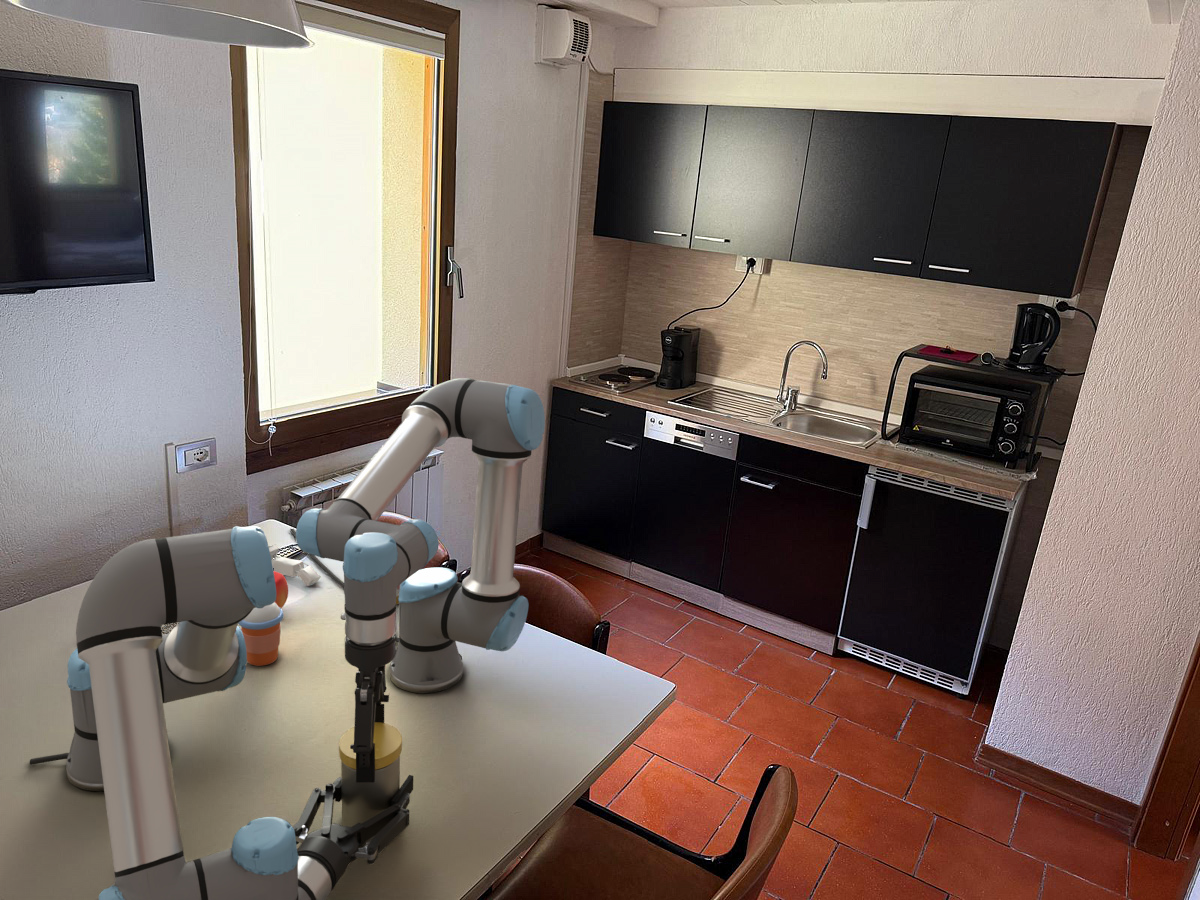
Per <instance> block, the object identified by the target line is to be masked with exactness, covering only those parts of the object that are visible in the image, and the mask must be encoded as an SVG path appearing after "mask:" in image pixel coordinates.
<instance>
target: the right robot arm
mask: <svg viewBox="0 0 1200 900" xmlns="http://www.w3.org/2000/svg"><path fill="white" fill-rule="evenodd" d="M545 417H546V415H545V408H544V404H543V401H542V399H541V397H540V395H539V394H538V392H536V391H535V390H534V389H533V388H532V389H531V388H528V387H523V386H521V385H520V386H519V385H517V384H510V383H503V382H496V381H495V382H494V381H488V380H487V381H486V380H481V379H473V378H468V377H460V378H453V379H450V380H447V381H444V382H441V383H439V384H436V385H435V386H433V387H431V388H429V389H427V390H426V391H424V392H423V393H422V394H420V395H419V396H417V397H416V398H415V399H414V400H413V401H412V402H411V403H410V404H409V405H408V407H407V408H406V409H405V410H404V411H403V413H402V415H401V423H400V424H399V425H398V426H397V428H396V429H395V430H394V431H393V433H391V435H390V436H389V437H388V439H386V440H385V442H384V443H383V444H382V445H381V447H380V448H378V450H377V451H376V452H375V454H374V455H373V456H372V457H371V458H370V459H369V461H367V463H366V464H365V465H364V466H363V468H362V469H360V471H359V472H358V474H357V475H356V476H355V477H353V479H352V481H350V483H349V484H348V485H347V486H346V488H345V489H344V490H343V491H342V492H341V493H340V494H339V496H338V497H337V498H336V499H335V500H334V501H333V503H332V504H331V505H330V506H329V507H328V508H327V509H325V508H317V507H316V508H315V507H314V508H311V509H309V510H306V511H305V512H304V513H303V514H302V515H301V517H300V518H299V520H298V522H297V526H296V529H295V528H293V529H291V528H290V529H289V530H290V531H291V533H292V535H293V536H294V537H295V540H296V543H297V546H298V548H299V549H300V550H301V551H302V552H303V553H306V554H308V556H310V558H312V560H313V561H314V562H315V563H316V564H317V565H318V566H319V567H320V568H321V569H322V570H324V572H326V574H328V576H329V577H331V578H332V580H334V581H335V582H337V583H338V584H339V585H340V586H341V587H342V588H343V589H344V612H343V613H341V614H340V619H341V620H342V621H345V623H344V635H345V636H344V659H345V660H346V662H347V664H349V665H351V666H352V667H355V668H357V670H358V671H356V672H355V678H354V682H355V684H356V687H355V689H354V704H355V705H354V725H353V727H354V744H351V745H350V748H351V749H353V752H354V753H356V783H363V782H374V781H375V743H373V740H374V726H375V722H381V723H385V703H389V702H390V694H385V693H386V692H387V684H386V683H387V680H386V665H388V664H389V663H390V664H389V679H390V681H391V682H392V683H393V684H394V685H395V686H396V687H398V688H399V689H401V690H404V691H407V692H410V693H416V694H430V693H431V694H432V693H438V692H441V691H445V690H447V689H450V688H451V687H453V686H455V685H456V684H457V683H458V682H459V681H460V680H461V679H462V676H463V672H464V662H463V656H462V654H461V653H460V652H459V649H458V646H457V642H458V643H462V644H466V645H469V646H474V647H478V648H482V649H485V650H487V651H490V650H493V651H497V652H506V651H509V650H510V649H511V648H512V647H514V645H515V644H516V643H517V641H518V640H519V637H520V635H521V633H522V631H523V629H524V627H525V624H526V621H527V617H528V612H529V605H530V604H529V600H528V598H527V597H525V596H524V595H520V589H521V585H520V584H521V583H520V582H519V581H518V579H517V578H516V577H514V572H515V558H516V546H517V535H518V524H519V512H520V500H521V488H522V487H521V486H522V475H523V466H524V463H525V462H527V460H529V459H530V458H531V457H532V451H534V450H537V449H538V448H539V447H540V445H541V444H542V441H543V435H544V434H545V428H546V427H545V425H546V420H545V419H546V418H545ZM450 438H462V439H467V440H471V453H472V454H473V455H474V456H475V458H476V459H477V460H478V463H477V464H478V465H477V467H478V468H477V476H476V477H477V478H476V490H475V491H476V494H475V505H474V506H475V507H474V520H473V534H472V547H471V548H472V549H471V562H470V563H471V565H470V573H469V574H468V575H467V576H466V577H464V579H462V582H458V580H459V579H458V578H459V577H458V575H457V573H456V571H454V570H453V569H450V568H448V567H434V566H433V567H427V568H425V567H426V566H427V565H428V563H429V562H430V561H431V560H432V559H433V558H434V557H435V556H436V555H437V553H438V550H439V545H440V541H439V537H438V534H437V531H436V530H435V529H434V527H433V526H432V525H431V524H430V523H428V522H427V521H424V520H423V519H419V518H413V519H409V520H407V521H403V522H401V523H400V524H394V523H389V522H384V521H380V517H381V516H382V515H383V514H384V512H385V511H386V510H387V509H388V507H389V506H390V505H391V503H393V501H394V500H395V499H396V497H397V496H398V494H399V493H400V492H401V491H402V489H404V487H405V486H406V484H407V483H408V482H409V480H411V478H412V477H413V475H414V474H415V473H416V472H417V470H418V469H419V468H420V466H421V465H422V464H423V463H424V461H425V460H426V458H428V457H429V455H430V454H431V453H432V452H433V450H434V448H439V447H442V446H443V445H444V444H445V443H446V442H447V441H448V439H450ZM378 520H379V521H378ZM318 558H320V559H329V560H333V561H338V562H343V563H342V571H343V581H342V580H341V579H340V578H339V577H338V576H337V575H336V574H334V573H333V572H332V571H331V570H330V569H329V568H328V566H327V567H326V565H325V564H323V563H322V562H321V560H320V559H318ZM399 585H400V592H399V598H398V601H399V603H398V613H397V604H396V589H397V587H398V586H399ZM397 614H398V615H397ZM397 617H398V636H397V635H396V632H397Z"/></svg>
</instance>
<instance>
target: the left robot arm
mask: <svg viewBox="0 0 1200 900" xmlns="http://www.w3.org/2000/svg"><path fill="white" fill-rule="evenodd" d="M267 539H268V538H267V536H266V533H265V531H264V529H262V528H261V527H259V526H257V525H250V526H249V525H248V526H239V525H236V526H233V527H232V528H227V529H221V530H212V531H205V532H199V533H198V532H197V533H190V534H184V535H174V536H167V537H162V538H161V537H160V538H148V539H144V540H140V541H139V540H138V541H136V542H134V543H131V544H130V545H128V546H126V547H124V548H122V549H120V550H119V551H117V552H116V553H115V554H114V555H113V556H112V557H110V558H109V559H108V560H107V561H106V562H105V563H104V564H103V566H102V567H100V569H99V571H98V572H97V573H96V575H95V576H94V577H93V579H92V581H91V582H90V584H89V586H88V588H87V589H86V592H85V594H84V596H83V599H82V602H81V604H80V608H79V611H78V615H77V620H76V627H75V628H76V629H75V638H76V648H75V649H74V650H73V651H72V653H71V654H70V656H69V658H68V661H67V679H66V683H67V688H69V691H70V702H71V710H72V711H71V712H72V719H73V727H74V733H73V737H72V739H71V744H70V748H69V752H65V753H64V752H63V753H58V754H51V755H46V756H40V757H34V758H31V759H30V760H29V765H30V766H31V765H32V766H33V765H38V764H42V763H49V762H55V761H62V760H66V764H65V765H66V766H65V769H66V775H67V780H68V782H70V784H72V785H73V786H75V787H76V788H78V789H82V790H86V791H92V792H95V791H96V792H103V791H104V792H103V793H104V799H105V808H106V818H107V825H108V826H107V827H108V832H109V840H110V841H109V842H110V849H111V856H112V857H111V858H112V867H113V872H114V883H113V884H111V886H109V887H107V888H104V889H103V890H102V891H101V892H100V893H99V895H98V900H327V898H328V897H329V896H330V894H331V892H332V891H333V890H334V889H335V887H336V886H337V884H338V883H339V881H340V880H341V879H342V877H343V875H344V874H345V872H346V870H347V869H348V867H349V865H350V864H351V863H352V862H354V861H355V860H357V859H364V860H366V864H367V865H374V864H375V863H376V861H377V859H378V856H379V855H380V854H381V853H382V852H383V851H384V850H385V849H386V848H387V847H388V846H389V845H390V844H391V843H392V842H393V841H394V840H395V839H397V837H398V836H399V835H400V834H401V833H402V832H404V831H405V830H406V829H407V828H408V827H409V825H410V809H409V808H408V806H409V804H410V801H411V794H412V792H413V791H414V775H413V774H408V776H407V777H406V779H405V780H404V782H403V783H402V784H401V786H400V789H399V790H398V792H397V793H396V794H395V796H394V797H393V799H392V800H391V807H389V808H387V809H385V810H384V811H382V812H380V813H379V814H377V815H375V816H374V817H372V818H370V819H369V820H367V821H365V822H364V823H362V824H361V823H357V824H356V825H354V826H352V827H349V826H342V824H340V823H337V822H333V817H334V816H333V815H334V804H335V803H336V802H337V803H340V802H342V784H341V776H339V777H336V779H335V780H334V781H333V783H326V784H325V786H324V787H325V788H324V789H322V788H321V787H314V789H313V790H312V792H311V794H310V796H309V798H308V800H307V802H306V805H305V806H304V808H303V811H302V813H301V815H300V817H299V819H298V821H296V822H295V824H294V825H292V824H290V823H289V821H287V820H286V819H284V818H281V817H277V816H263V817H257V818H255V819H252V820H250V821H249V822H248V823H247V824H246V825H245V826H241V827H240V828H239V829H238V830H237V831H236V833H235V835H234V837H233V840H232V844H231V847H230V848H227V849H222V850H221V851H217V852H214V853H211V854H208V855H205V856H202V857H199V858H195V859H192V860H190V861H186V859H185V853H184V843H183V837H182V831H181V823H180V816H179V808H178V801H177V795H176V788H175V787H176V786H175V781H174V773H173V772H174V771H173V766H172V758H171V752H170V751H171V750H170V745H169V738H168V737H169V736H168V730H167V723H166V715H165V708H164V704H167V703H172V702H176V701H179V700H184V699H189V698H193V697H196V696H197V697H198V696H201V695H206V694H210V693H215V692H224V691H226V690H228V689H231V688H234V687H236V686H239V685H240V684H241V683H242V681H243V680H244V678H245V676H246V672H247V663H248V661H247V652H246V644H245V640H244V636H243V633H242V630H241V626H240V625H239V624H238V623H239V622H241V621H242V620H243V619H245V618H246V617H247V616H248V615H249V614H250V613H251V611H252V610H253V608H263V607H264V606H267V605H271V604H273V603H274V602H275V600H276V585H275V578H274V571H273V566H272V561H271V555H270V551H269V546H270V545H269V544H268V543H269V542H268V540H267ZM177 623H178V624H177ZM170 624H177V625H175V626H174V627H173V628H172V630H170V632H169V633H163V631H162V626H163V625H165V626H166V625H170ZM334 801H335V803H334ZM321 804H323V812H322V813H323V815H322V822H321V827H320V828H317V829H316V830H314V831H311V832H309V831H310V829H311V826H312V824H313V822H314V820H315V817H316V815H317V814H318V812H319V809H320V806H321ZM373 836H374V837H373ZM372 837H373V838H372ZM370 838H372V839H371V841H367V840H368V839H370ZM366 841H367V842H366ZM365 842H366V845H364V844H365ZM299 844H300V845H299ZM297 845H299V847H298V846H297Z"/></svg>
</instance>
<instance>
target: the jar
mask: <svg viewBox="0 0 1200 900" xmlns="http://www.w3.org/2000/svg"><path fill="white" fill-rule="evenodd" d="M340 772H341V773H340V777H341V784H342V799H341V826H349V827H352V826H354V825H356V824H357V823H361V824H362V823H364V822H365V821H367V820H369V819H370V818H372V817H374V816H375V815H377V814H379V813H380V812H382V811H384V810H385V809H387V808H389V807H391V800H392V799H393V797H394V796H395V794H396V793H397V792H398V790H399V789H400V787H401V786H400V785H401V782H400V780H401V755H400V756H399V757H398V758H397V759H396V760H395V761H394V762H393V763H391V764H390V765H388V766H386V767H383V768H380V769H376V770H375V781H374V782H363V783H356V769H353V768H350V767H348V766H346V765H345V764H344V763H343V762H342V761H341V760H340ZM373 837H374V836H373ZM373 837H372V838H373ZM372 838H370V839H368V840H367V841H371V839H372ZM367 841H366V842H367ZM366 842H365V844H364V845H363V846H365V845H366Z"/></svg>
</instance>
